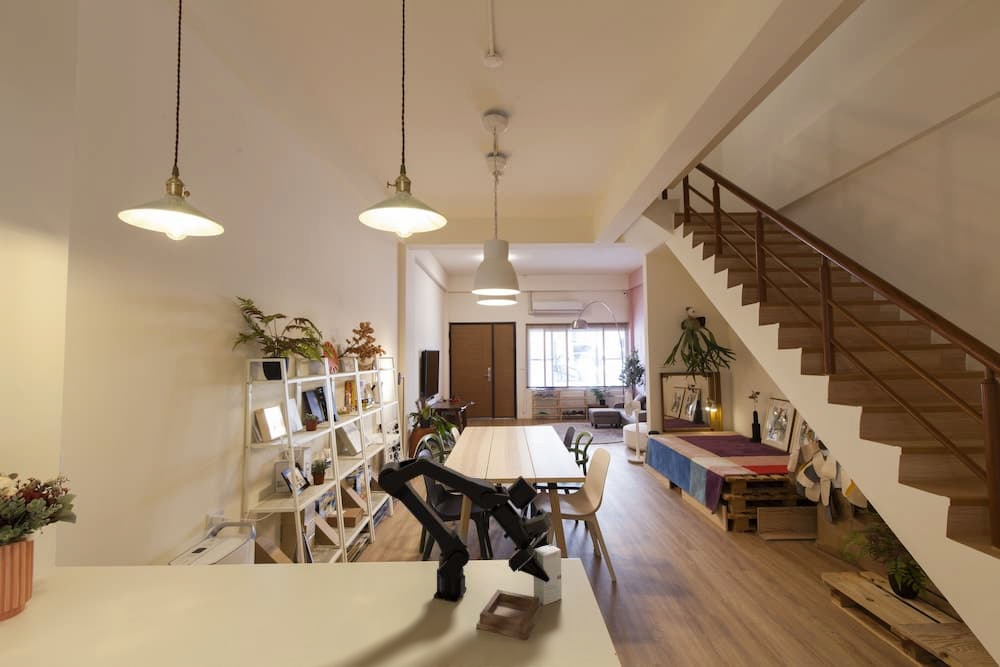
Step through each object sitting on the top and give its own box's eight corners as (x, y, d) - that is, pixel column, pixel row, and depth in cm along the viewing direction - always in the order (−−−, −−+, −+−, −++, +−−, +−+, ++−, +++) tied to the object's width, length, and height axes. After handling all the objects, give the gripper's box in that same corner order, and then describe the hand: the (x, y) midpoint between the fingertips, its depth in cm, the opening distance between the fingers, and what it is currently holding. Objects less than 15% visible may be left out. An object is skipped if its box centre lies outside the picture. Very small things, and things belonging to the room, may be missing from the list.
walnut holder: (476, 627, 100) (476, 615, 100) (496, 598, 111) (496, 587, 111) (526, 640, 95) (526, 627, 95) (542, 608, 106) (542, 597, 107)
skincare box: (543, 606, 108) (543, 556, 108) (532, 597, 111) (532, 549, 112) (562, 598, 111) (562, 549, 111) (551, 590, 115) (550, 543, 115)
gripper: (520, 516, 104) (567, 571, 100) (541, 491, 122) (581, 537, 118) (489, 544, 107) (534, 599, 103) (514, 516, 124) (553, 562, 120)
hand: (552, 572), depth 111 cm, fingers open, 8 cm apart
